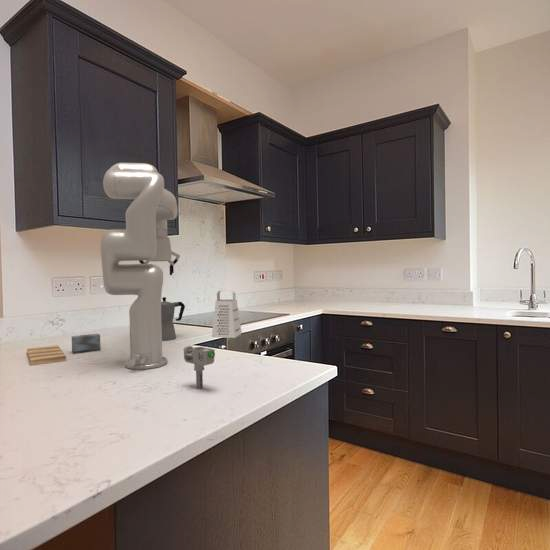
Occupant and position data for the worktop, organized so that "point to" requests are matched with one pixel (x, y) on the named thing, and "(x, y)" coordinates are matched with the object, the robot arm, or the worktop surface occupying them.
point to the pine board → (45, 355)
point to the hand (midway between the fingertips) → (159, 275)
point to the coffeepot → (169, 318)
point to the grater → (226, 318)
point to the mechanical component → (199, 361)
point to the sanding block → (86, 343)
